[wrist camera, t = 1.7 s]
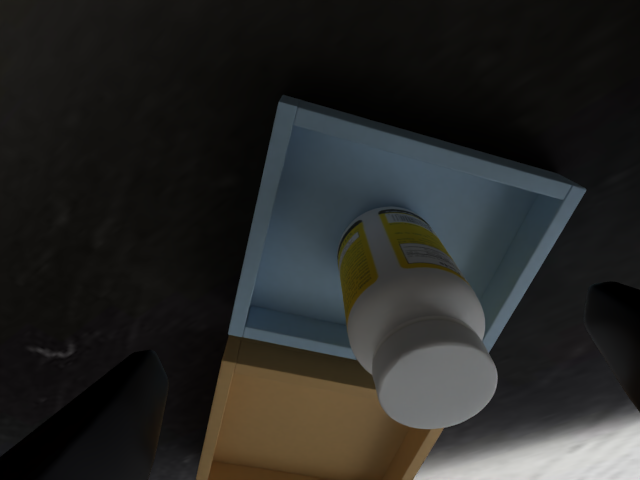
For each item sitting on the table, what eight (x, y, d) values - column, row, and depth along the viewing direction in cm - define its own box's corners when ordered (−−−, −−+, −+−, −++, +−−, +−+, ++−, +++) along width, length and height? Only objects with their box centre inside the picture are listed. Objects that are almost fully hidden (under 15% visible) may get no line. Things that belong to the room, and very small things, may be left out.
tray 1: (558, 173, 20) (588, 189, 18) (457, 355, 26) (471, 383, 24) (282, 94, 18) (278, 101, 16) (235, 308, 24) (227, 334, 22)
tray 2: (446, 376, 27) (457, 405, 24) (383, 488, 32) (388, 520, 30) (229, 332, 25) (221, 360, 22) (201, 460, 30) (192, 492, 28)
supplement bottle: (356, 303, 23) (383, 460, 14) (321, 225, 21) (328, 356, 12) (446, 272, 22) (532, 419, 14) (419, 188, 20) (503, 298, 11)
